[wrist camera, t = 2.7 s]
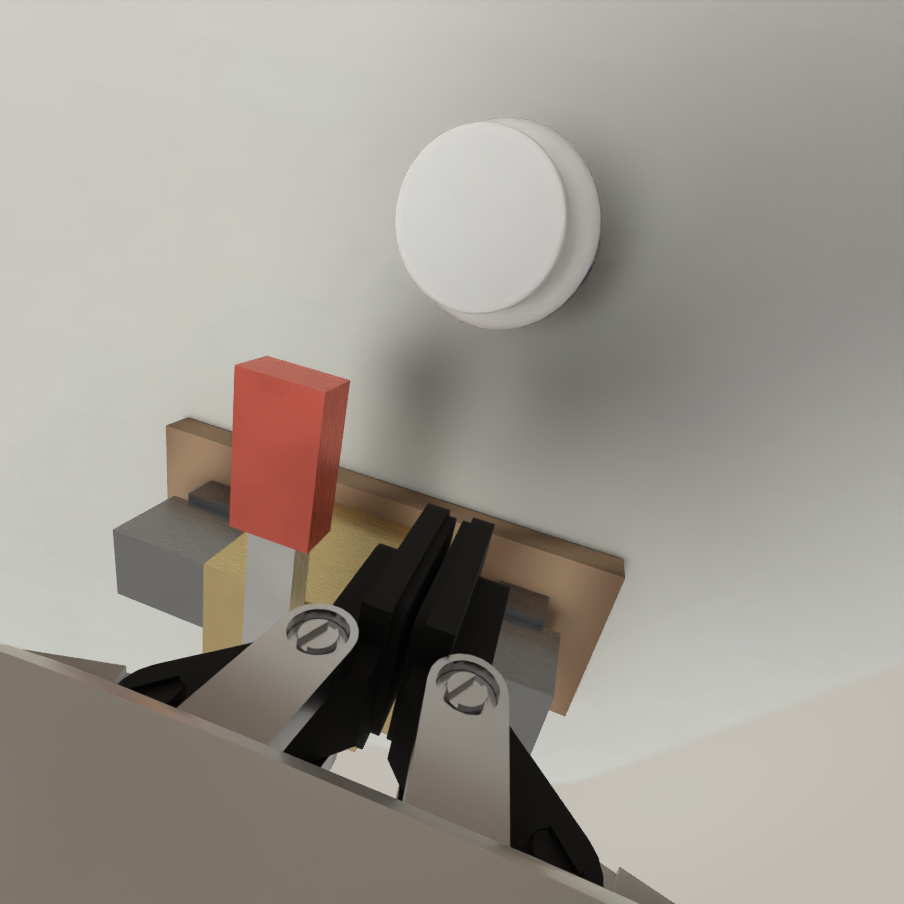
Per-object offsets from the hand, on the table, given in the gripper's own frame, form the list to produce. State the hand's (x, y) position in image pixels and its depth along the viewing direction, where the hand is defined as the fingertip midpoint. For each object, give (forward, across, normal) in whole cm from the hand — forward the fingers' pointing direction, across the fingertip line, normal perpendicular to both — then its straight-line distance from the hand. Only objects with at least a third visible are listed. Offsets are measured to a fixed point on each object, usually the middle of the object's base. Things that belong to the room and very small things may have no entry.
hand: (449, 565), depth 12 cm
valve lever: (+3, +5, +4) cm, 8 cm away
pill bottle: (+12, +1, -8) cm, 14 cm away
